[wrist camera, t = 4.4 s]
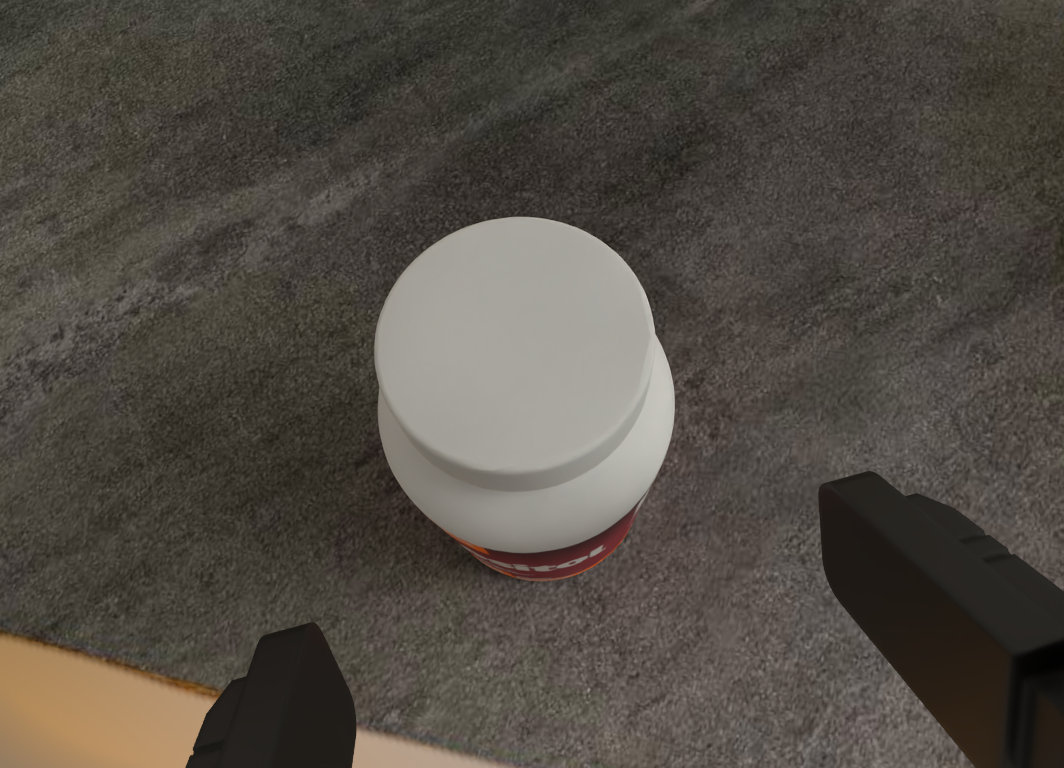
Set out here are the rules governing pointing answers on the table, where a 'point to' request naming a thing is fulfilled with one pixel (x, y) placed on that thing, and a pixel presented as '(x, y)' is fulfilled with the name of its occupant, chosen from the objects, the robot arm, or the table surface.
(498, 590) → the table surface
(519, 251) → the pill bottle
